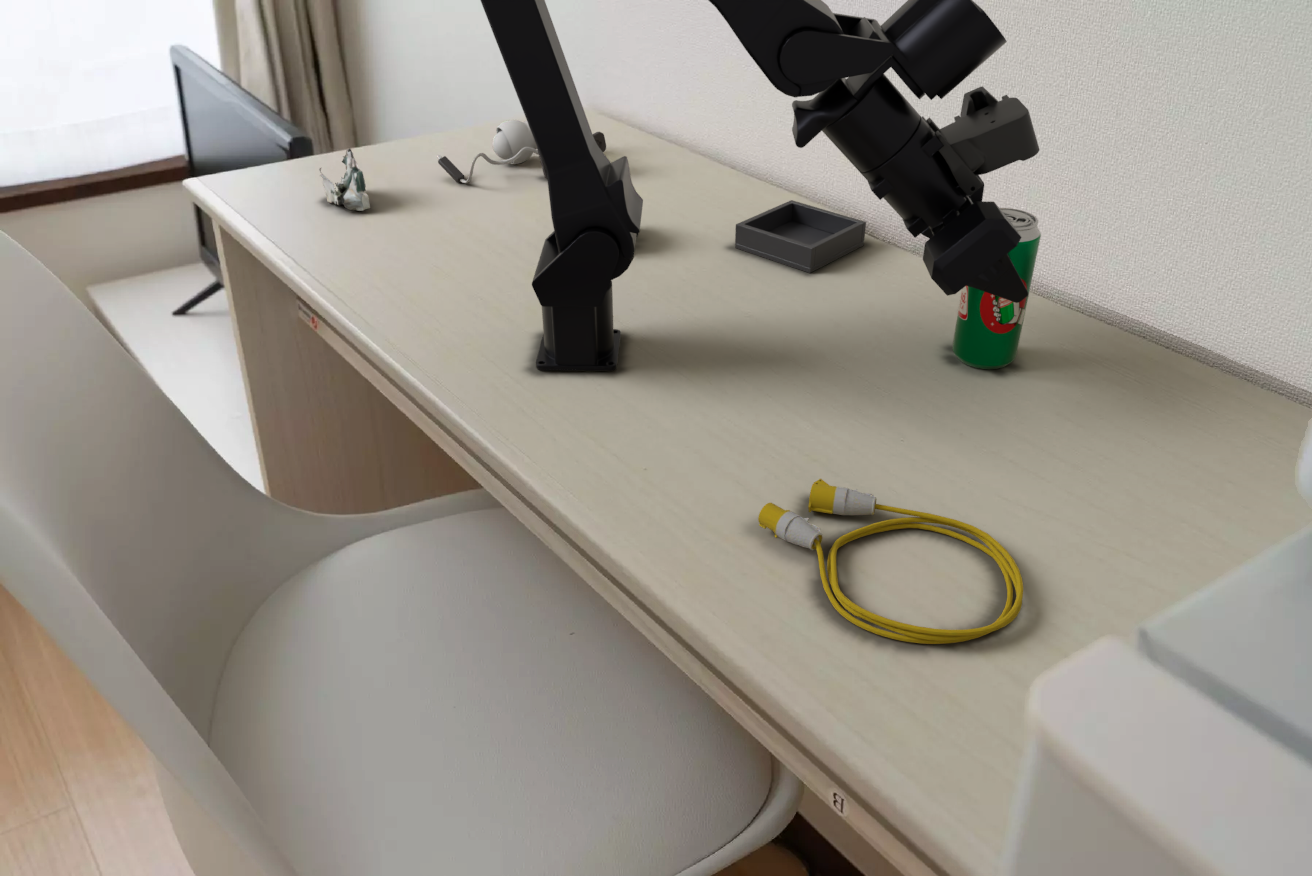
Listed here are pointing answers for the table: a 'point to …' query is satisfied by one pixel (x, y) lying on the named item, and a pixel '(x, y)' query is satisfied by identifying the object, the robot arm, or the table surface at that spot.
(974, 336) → the soda can
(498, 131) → the clip-on lamp
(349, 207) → the grey green figurine
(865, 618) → the extension cord
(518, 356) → the table surface
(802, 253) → the square tray
